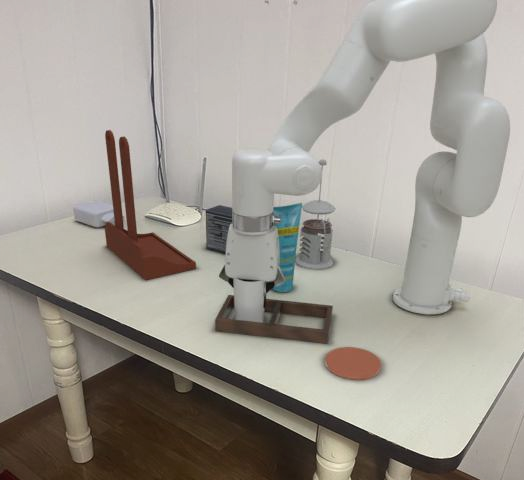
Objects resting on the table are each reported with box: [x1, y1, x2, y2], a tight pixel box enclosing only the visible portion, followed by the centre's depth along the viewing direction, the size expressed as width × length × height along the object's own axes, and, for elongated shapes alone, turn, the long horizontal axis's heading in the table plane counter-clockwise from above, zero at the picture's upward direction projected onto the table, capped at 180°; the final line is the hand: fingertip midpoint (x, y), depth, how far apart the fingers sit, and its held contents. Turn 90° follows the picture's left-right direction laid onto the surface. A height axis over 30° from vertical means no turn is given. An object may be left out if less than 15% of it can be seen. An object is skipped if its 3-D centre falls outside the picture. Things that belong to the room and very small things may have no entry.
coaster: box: [324, 346, 382, 381], centre depth 101 cm, size 10×10×1 cm
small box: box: [205, 204, 232, 255], centre depth 145 cm, size 11×6×10 cm, turn 58°
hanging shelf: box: [104, 129, 197, 281], centre depth 133 cm, size 24×13×30 cm, turn 34°
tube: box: [272, 202, 303, 293], centre depth 123 cm, size 7×5×19 cm, turn 123°
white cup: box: [233, 278, 267, 323], centre depth 112 cm, size 7×7×10 cm
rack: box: [214, 294, 334, 344], centre depth 113 cm, size 22×12×2 cm, turn 80°
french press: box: [295, 158, 336, 270], centre depth 135 cm, size 10×12×25 cm
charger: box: [73, 199, 125, 229], centre depth 160 cm, size 5×9×15 cm
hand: (251, 309), depth 113 cm, fingers closed on white cup, 2 cm apart
